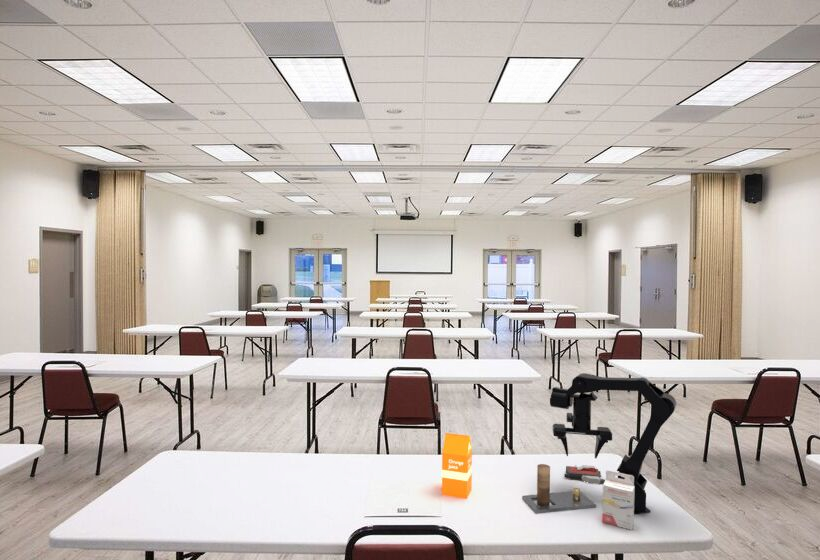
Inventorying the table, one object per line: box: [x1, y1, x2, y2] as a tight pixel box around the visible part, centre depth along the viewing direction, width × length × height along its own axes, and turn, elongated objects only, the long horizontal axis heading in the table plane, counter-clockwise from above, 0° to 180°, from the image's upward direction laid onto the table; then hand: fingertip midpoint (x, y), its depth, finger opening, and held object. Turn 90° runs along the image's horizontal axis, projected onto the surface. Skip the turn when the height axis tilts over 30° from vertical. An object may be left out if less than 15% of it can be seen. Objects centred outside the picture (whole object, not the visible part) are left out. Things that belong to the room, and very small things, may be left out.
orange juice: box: [441, 432, 473, 499], centre depth 167 cm, size 8×9×20 cm
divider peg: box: [536, 463, 551, 507], centre depth 158 cm, size 4×4×12 cm
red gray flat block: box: [563, 464, 606, 485], centre depth 178 cm, size 9×4×20 cm
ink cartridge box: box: [601, 470, 635, 531], centre depth 147 cm, size 9×5×15 cm, turn 59°
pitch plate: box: [521, 487, 597, 514], centre depth 159 cm, size 10×21×4 cm, turn 101°
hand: (581, 456), depth 165 cm, fingers open, 9 cm apart
